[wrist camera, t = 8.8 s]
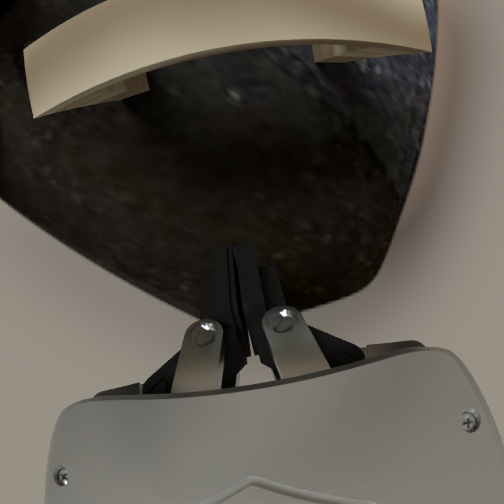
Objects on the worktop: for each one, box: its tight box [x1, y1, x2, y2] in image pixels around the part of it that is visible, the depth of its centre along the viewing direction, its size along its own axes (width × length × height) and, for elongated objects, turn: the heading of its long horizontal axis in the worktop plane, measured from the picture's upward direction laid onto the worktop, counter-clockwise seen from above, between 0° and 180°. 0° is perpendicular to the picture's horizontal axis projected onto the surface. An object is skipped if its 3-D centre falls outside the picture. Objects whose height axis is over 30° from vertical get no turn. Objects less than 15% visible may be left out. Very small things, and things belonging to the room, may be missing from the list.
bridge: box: [24, 0, 432, 118], centre depth 9 cm, size 3×14×9 cm, turn 99°
